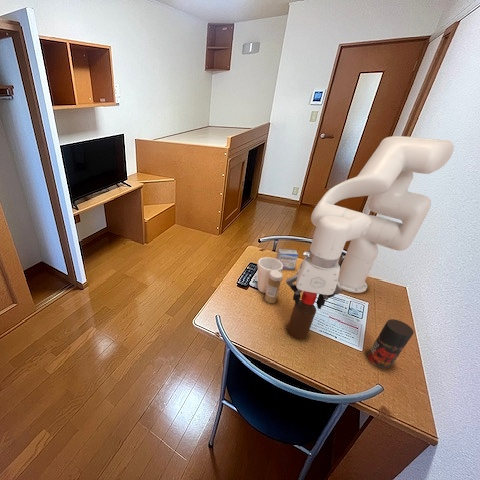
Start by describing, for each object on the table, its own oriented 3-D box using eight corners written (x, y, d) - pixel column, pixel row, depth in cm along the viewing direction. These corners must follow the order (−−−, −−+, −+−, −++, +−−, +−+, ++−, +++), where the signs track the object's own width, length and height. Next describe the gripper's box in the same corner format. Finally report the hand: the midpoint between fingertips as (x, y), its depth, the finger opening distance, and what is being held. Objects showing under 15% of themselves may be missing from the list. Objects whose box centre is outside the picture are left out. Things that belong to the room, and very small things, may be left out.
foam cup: (252, 292, 109) (257, 267, 103) (254, 279, 117) (259, 255, 110) (276, 298, 106) (283, 272, 99) (277, 284, 113) (283, 259, 107)
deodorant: (362, 352, 84) (381, 320, 76) (380, 350, 84) (400, 318, 76) (377, 369, 78) (399, 337, 71) (396, 367, 79) (419, 334, 71)
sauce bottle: (296, 322, 95) (308, 286, 86) (311, 335, 90) (325, 298, 81) (283, 328, 93) (294, 292, 84) (298, 342, 88) (311, 304, 79)
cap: (312, 297, 85) (315, 289, 83) (315, 305, 82) (318, 297, 80) (299, 295, 86) (302, 288, 84) (302, 304, 82) (305, 296, 81)
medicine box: (276, 268, 122) (280, 253, 118) (274, 263, 126) (278, 248, 122) (294, 269, 121) (298, 254, 117) (291, 264, 125) (295, 249, 120)
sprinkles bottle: (278, 300, 105) (285, 274, 98) (271, 305, 103) (277, 279, 96) (268, 294, 108) (274, 268, 101) (261, 298, 106) (267, 272, 99)
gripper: (290, 260, 74) (278, 306, 83) (362, 270, 68) (340, 318, 78) (288, 246, 80) (277, 290, 89) (354, 255, 74) (335, 301, 84)
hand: (307, 303), depth 83 cm, fingers open, 5 cm apart
